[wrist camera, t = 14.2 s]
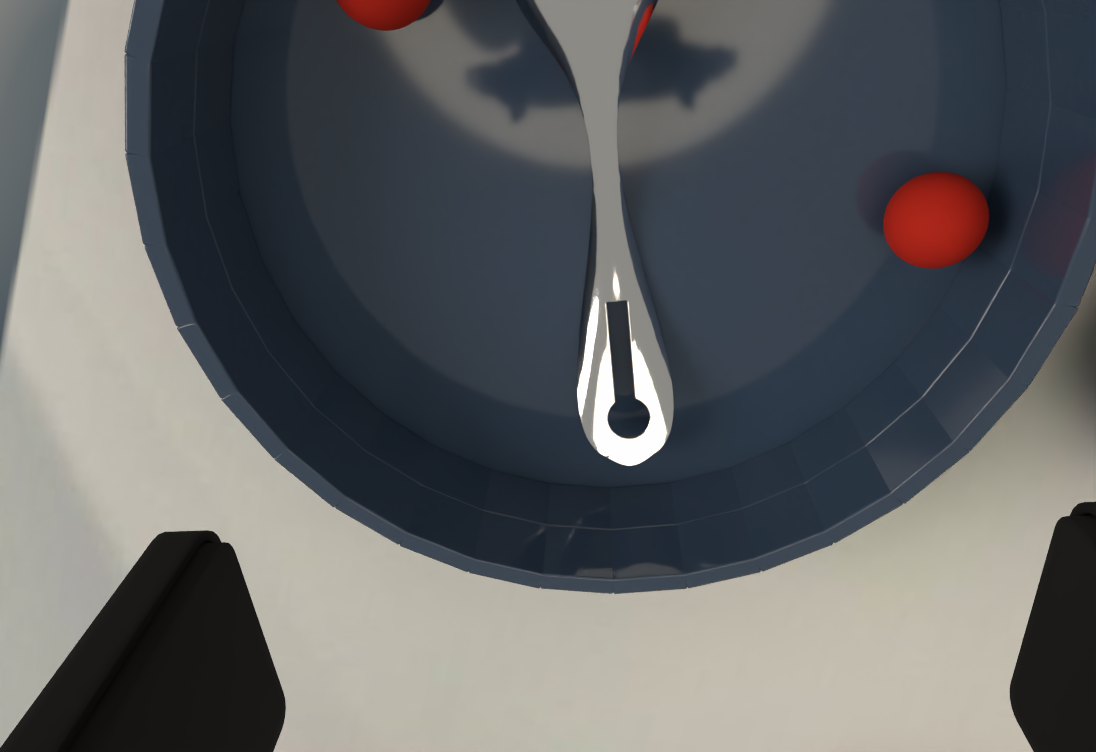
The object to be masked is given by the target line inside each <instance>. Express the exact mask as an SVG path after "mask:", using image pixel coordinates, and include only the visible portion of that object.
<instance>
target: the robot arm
mask: <svg viewBox="0 0 1096 752" xmlns="http://www.w3.org/2000/svg"><path fill="white" fill-rule="evenodd" d="M1010 700H1011V706H1012V709H1013V712H1014V715H1015V717H1016V720H1017V722H1018V724H1019V726H1020V727H1021V729H1022V731H1023V733H1024V735H1025V737H1026V738H1027V740H1028V742H1029V744H1030V746H1031V747H1032V749H1033V751H1034V752H1096V502H1084V503H1080V504H1078V505H1077V506H1076V507H1075V508H1074V509H1073V510H1072V512H1071V514H1070V516H1066V517H1062V518H1060V519H1059V520H1058V522H1057V524H1056V526H1055V529H1054V532H1053V536H1052V539H1051V543H1050V547H1049V550H1048V554H1047V557H1046V561H1045V564H1044V568H1043V571H1042V575H1041V578H1040V582H1039V585H1038V589H1037V592H1036V596H1035V599H1034V603H1033V606H1032V610H1031V613H1030V617H1029V620H1028V624H1027V628H1026V631H1025V635H1024V638H1023V642H1022V645H1021V649H1020V652H1019V656H1018V659H1017V663H1016V666H1015V670H1014V673H1013V677H1012V680H1011V684H1010ZM285 709H286V705H285V697H284V693H283V690H282V687H281V684H280V681H279V679H278V676H277V673H276V670H275V667H274V664H273V661H272V658H271V655H270V652H269V649H268V646H267V644H266V641H265V638H264V635H263V632H262V629H261V626H260V623H259V620H258V617H257V614H256V612H255V609H254V606H253V603H252V600H251V597H250V594H249V591H248V588H247V585H246V582H245V580H244V577H243V574H242V571H241V568H240V565H239V562H238V559H237V556H236V553H235V551H234V549H233V547H232V546H231V545H230V544H229V543H225V542H223V543H221V541H220V539H219V537H218V535H217V534H215V533H214V532H213V531H179V532H164V533H161V534H159V535H158V536H157V537H156V538H155V539H154V540H153V541H152V542H151V543H150V545H149V546H148V547H147V549H146V550H145V551H144V553H143V554H142V556H141V557H140V558H139V560H138V561H137V562H136V564H135V565H134V566H133V568H132V569H131V571H130V572H129V573H128V575H127V576H126V577H125V579H124V580H123V581H122V583H121V584H120V586H119V587H118V588H117V590H116V591H115V592H114V594H113V595H112V596H111V598H110V599H109V600H108V602H107V603H106V605H105V606H104V607H103V609H102V610H101V611H100V613H99V614H98V615H97V617H96V618H95V620H94V621H93V622H92V624H91V625H90V626H89V628H88V629H87V630H86V632H85V633H84V635H83V636H82V637H81V639H80V640H79V641H78V643H77V644H76V645H75V647H74V648H73V650H72V651H71V652H70V654H69V655H68V656H67V658H66V659H65V660H64V662H63V663H62V665H61V666H60V667H59V669H58V670H57V671H56V673H55V674H54V675H53V677H52V678H51V680H50V681H49V682H48V684H47V685H46V686H45V688H44V689H43V690H42V692H41V693H40V695H39V696H38V697H37V699H36V700H35V701H34V703H33V704H32V705H31V707H30V708H29V710H28V711H27V712H26V714H25V715H24V716H23V718H22V719H21V720H20V722H19V723H18V725H17V726H16V727H15V729H14V730H13V731H12V733H11V734H10V735H9V737H8V738H7V740H6V741H5V742H4V744H3V745H2V746H1V748H0V752H273V751H274V748H275V745H276V743H277V740H278V738H279V735H280V733H281V730H282V727H283V724H284V719H285Z"/></svg>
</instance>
